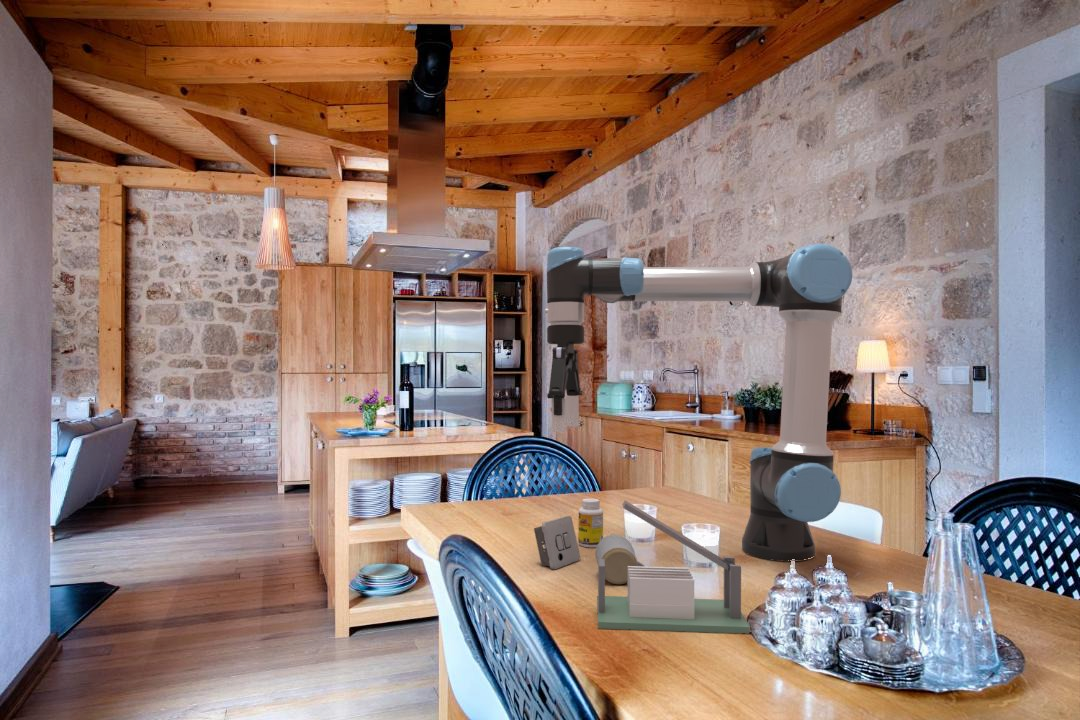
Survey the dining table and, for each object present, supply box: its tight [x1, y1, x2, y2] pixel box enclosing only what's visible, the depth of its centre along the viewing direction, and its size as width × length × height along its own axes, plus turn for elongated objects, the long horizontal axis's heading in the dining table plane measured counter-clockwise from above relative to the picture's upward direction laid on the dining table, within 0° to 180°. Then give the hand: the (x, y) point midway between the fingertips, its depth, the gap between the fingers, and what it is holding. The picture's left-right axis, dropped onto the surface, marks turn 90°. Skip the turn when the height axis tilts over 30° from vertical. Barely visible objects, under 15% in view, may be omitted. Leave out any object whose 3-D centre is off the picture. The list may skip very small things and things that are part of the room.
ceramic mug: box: [595, 534, 647, 585], centre depth 128 cm, size 11×8×8 cm
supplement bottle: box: [577, 497, 604, 549], centre depth 152 cm, size 6×6×10 cm
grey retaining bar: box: [621, 500, 736, 574], centre depth 109 cm, size 21×3×2 cm
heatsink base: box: [596, 556, 751, 635], centre depth 109 cm, size 23×12×9 cm, turn 86°
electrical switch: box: [533, 515, 581, 570], centre depth 138 cm, size 9×5×9 cm, turn 141°
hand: (565, 429), depth 136 cm, fingers open, 13 cm apart
